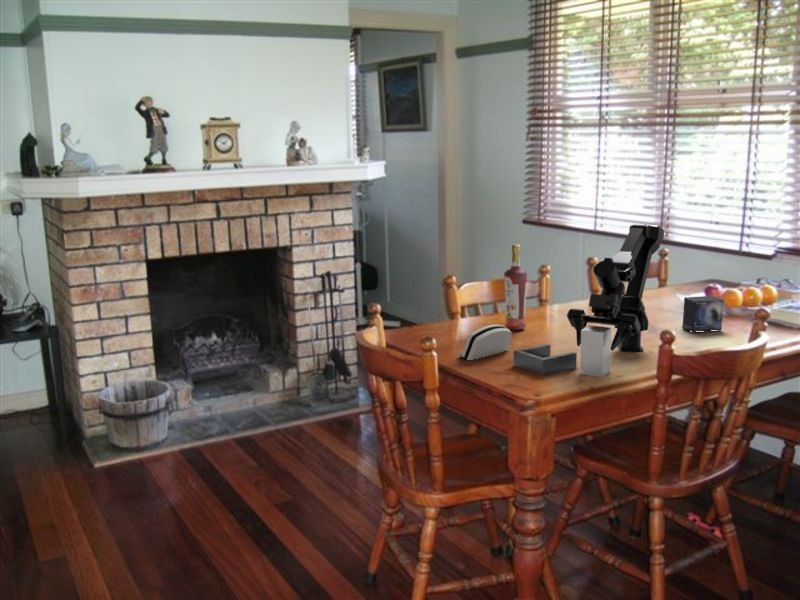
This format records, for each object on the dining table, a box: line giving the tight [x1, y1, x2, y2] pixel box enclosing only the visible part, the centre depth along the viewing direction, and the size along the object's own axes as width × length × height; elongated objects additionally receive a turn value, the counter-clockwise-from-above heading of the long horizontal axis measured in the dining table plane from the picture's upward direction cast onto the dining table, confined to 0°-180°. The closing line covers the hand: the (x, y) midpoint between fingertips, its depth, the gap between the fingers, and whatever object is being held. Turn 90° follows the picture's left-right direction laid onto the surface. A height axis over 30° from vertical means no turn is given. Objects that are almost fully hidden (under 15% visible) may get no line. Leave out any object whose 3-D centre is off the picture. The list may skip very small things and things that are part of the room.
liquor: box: [503, 243, 528, 332], centre depth 262 cm, size 7×7×28 cm
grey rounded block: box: [458, 324, 513, 361], centre depth 234 cm, size 17×5×10 cm, turn 131°
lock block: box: [579, 325, 612, 378], centre depth 213 cm, size 6×6×12 cm
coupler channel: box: [513, 343, 578, 376], centre depth 220 cm, size 12×12×4 cm
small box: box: [681, 295, 724, 332], centre depth 256 cm, size 11×6×10 cm, turn 102°
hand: (594, 347), depth 212 cm, fingers open, 9 cm apart
